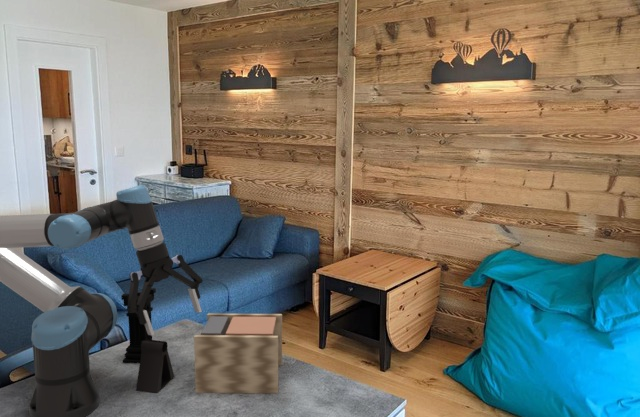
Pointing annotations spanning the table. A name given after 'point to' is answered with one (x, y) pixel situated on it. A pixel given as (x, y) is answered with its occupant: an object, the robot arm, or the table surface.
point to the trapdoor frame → (238, 360)
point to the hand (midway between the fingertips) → (175, 322)
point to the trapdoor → (240, 326)
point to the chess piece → (137, 329)
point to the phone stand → (154, 366)
